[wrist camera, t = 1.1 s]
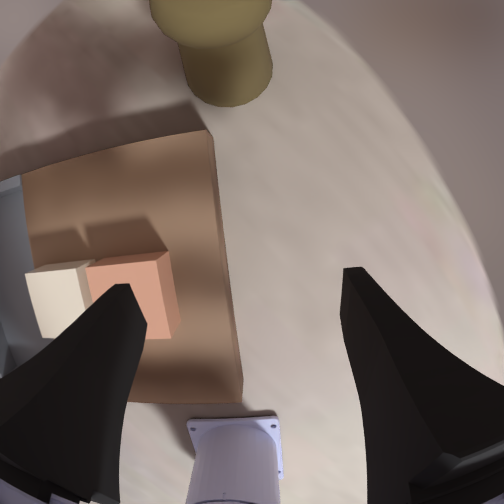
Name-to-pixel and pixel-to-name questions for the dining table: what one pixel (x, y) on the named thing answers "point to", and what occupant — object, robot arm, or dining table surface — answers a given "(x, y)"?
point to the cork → (219, 46)
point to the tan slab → (150, 251)
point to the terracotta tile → (141, 287)
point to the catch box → (16, 282)
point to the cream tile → (59, 295)
